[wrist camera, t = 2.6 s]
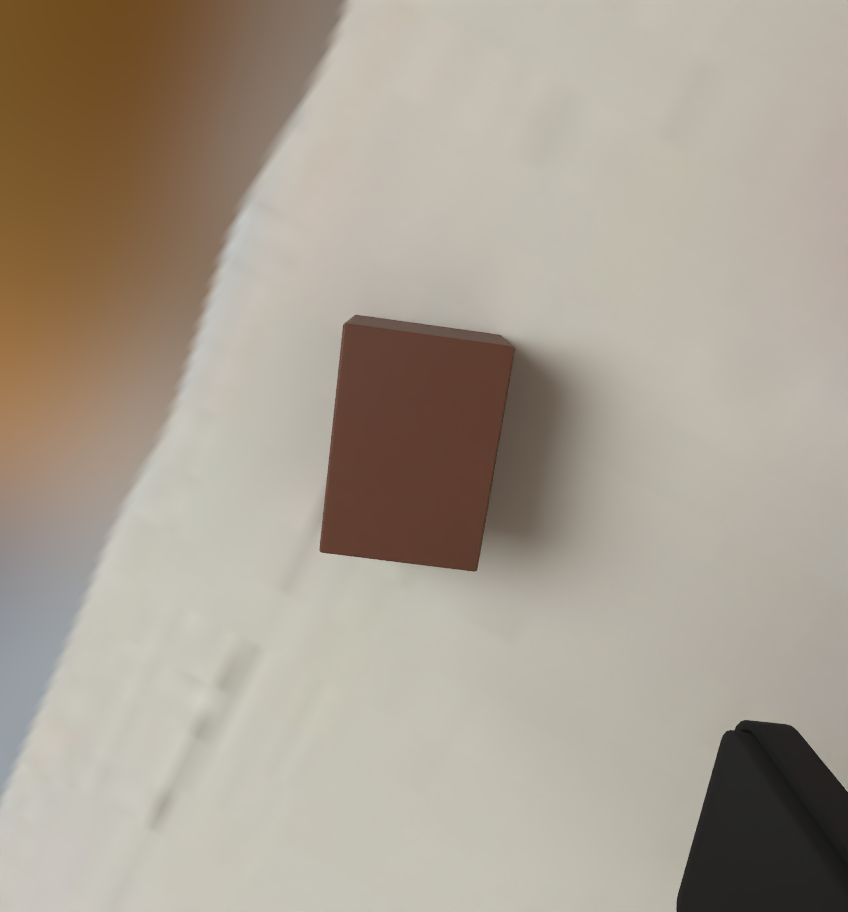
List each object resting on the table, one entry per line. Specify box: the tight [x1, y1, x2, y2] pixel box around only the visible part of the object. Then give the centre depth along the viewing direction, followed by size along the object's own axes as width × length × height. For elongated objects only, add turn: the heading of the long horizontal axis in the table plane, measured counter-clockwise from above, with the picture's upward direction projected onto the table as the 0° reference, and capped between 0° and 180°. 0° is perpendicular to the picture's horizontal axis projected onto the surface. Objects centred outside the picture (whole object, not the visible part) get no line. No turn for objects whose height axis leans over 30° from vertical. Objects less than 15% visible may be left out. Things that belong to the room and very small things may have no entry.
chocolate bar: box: [320, 315, 515, 571], centre depth 19 cm, size 6×4×3 cm
